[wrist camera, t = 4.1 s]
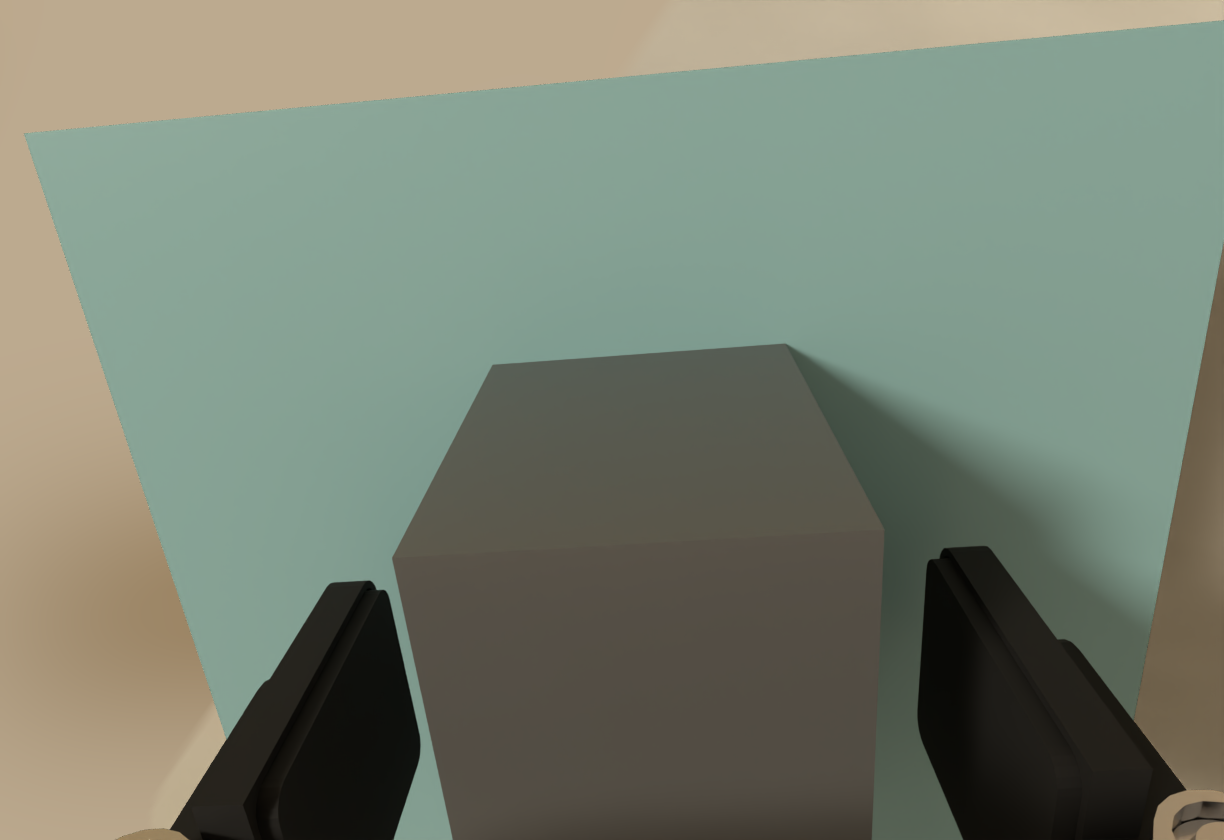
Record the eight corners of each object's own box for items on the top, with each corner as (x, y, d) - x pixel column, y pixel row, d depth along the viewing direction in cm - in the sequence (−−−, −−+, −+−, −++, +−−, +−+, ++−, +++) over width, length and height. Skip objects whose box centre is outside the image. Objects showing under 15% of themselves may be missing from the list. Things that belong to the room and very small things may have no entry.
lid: (1165, 26, 11) (1844, -40, 5) (1046, 833, 17) (1291, 1294, 11) (115, 124, 12) (-458, 179, 6) (331, 858, 18) (158, 1294, 12)
